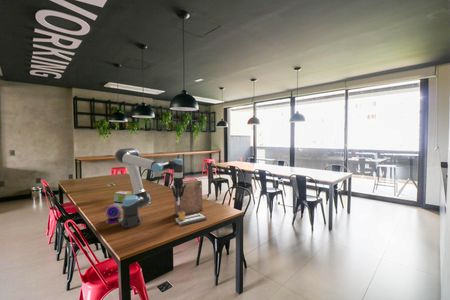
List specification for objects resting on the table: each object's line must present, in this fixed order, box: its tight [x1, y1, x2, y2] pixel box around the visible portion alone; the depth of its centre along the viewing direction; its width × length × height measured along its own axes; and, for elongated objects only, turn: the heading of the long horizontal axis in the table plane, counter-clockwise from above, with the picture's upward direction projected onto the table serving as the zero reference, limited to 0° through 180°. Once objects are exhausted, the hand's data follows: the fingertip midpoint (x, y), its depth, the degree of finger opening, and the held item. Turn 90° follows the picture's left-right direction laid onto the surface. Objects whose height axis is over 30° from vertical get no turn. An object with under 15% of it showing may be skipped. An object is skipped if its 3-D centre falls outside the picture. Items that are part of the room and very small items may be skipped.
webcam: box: [105, 203, 123, 224], centre depth 189 cm, size 13×13×15 cm
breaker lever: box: [178, 211, 185, 220], centre depth 184 cm, size 4×4×7 cm
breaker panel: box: [175, 212, 206, 226], centre depth 188 cm, size 11×23×2 cm, turn 123°
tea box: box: [113, 190, 133, 208], centre depth 233 cm, size 15×10×15 cm, turn 73°
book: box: [173, 178, 203, 217], centre depth 208 cm, size 25×9×30 cm, turn 130°
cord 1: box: [173, 212, 199, 221], centre depth 196 cm, size 2×23×2 cm, turn 123°
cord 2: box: [180, 217, 207, 227], centre depth 182 cm, size 2×23×2 cm, turn 123°
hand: (178, 204), depth 183 cm, fingers closed
